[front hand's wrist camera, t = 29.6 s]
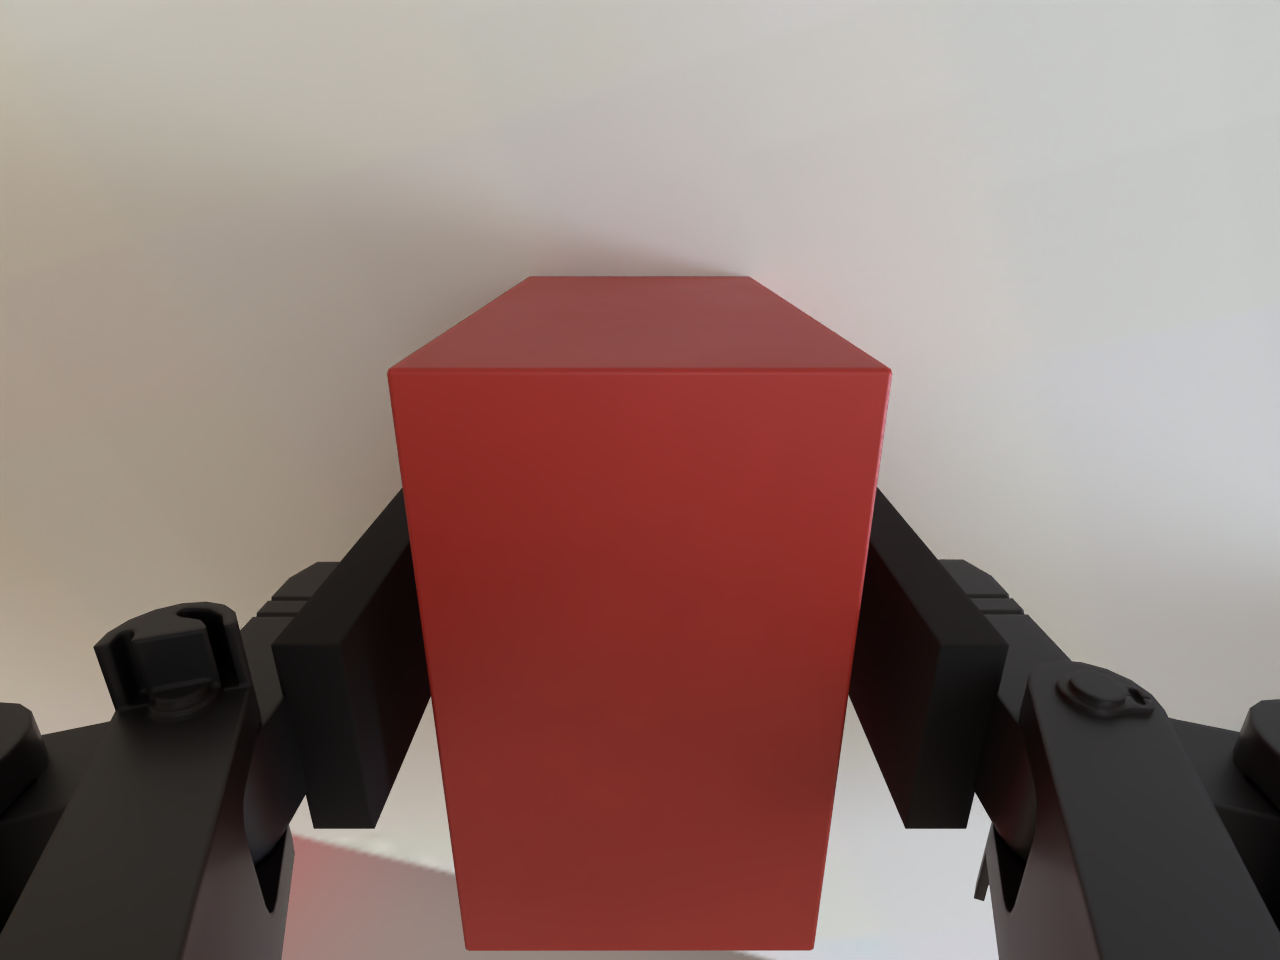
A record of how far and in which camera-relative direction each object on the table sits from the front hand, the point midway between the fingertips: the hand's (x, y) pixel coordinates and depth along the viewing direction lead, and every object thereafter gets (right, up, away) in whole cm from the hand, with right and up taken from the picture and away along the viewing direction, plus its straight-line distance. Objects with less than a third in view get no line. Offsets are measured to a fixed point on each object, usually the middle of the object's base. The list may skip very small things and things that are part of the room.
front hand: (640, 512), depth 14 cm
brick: (0, +1, +3) cm, 3 cm away
